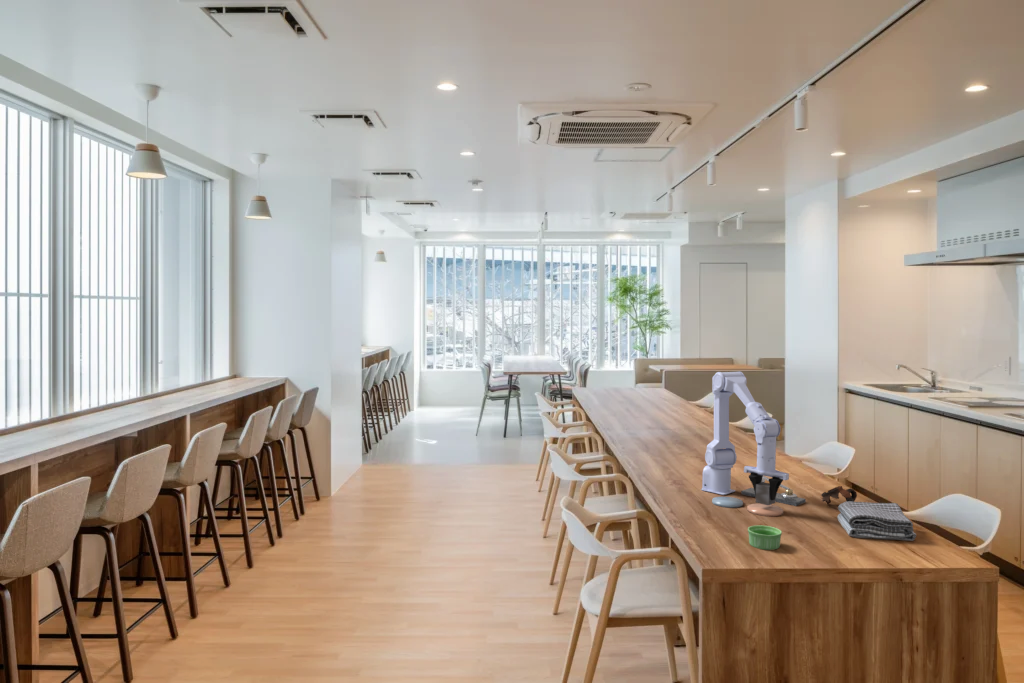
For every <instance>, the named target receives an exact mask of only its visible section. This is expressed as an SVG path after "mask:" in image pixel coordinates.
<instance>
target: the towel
mask: <svg viewBox="0 0 1024 683" xmlns="http://www.w3.org/2000/svg"><path fill="white" fill-rule="evenodd" d="M837 509H838V512H839V514H838V515H837V521H838V522H839V523H840V525H841V527H842V528H843V529H844V531H846V533H847V534H848V536H850V537H853V538H857V539H858V538H859V539H872V538H873V539H875V540H896V541H910V542H912V541H915V539H916V537H917V533H916V532H914V524H913V521H911V520H910V519H909V517H907V516H906V515H905V514H904V512H903V511H902V508H901V507H900V505H899V504H898V503H896V502H891V503H890V502H887V503H886V502H869V501H866V502H864V501H854V502H852V501H851V502H850V501H848V502H846V501H844V502H842V503H840V504H839V505H838V506H837Z"/></svg>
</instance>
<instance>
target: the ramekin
mask: <svg viewBox="0 0 1024 683" xmlns="http://www.w3.org/2000/svg"><path fill="white" fill-rule="evenodd" d="M747 532H748V543H749V545H750V546H751V547H753V548H755V549H759V550H764V551H765V550H766V551H772V550H777V549H779V548H780V547H781V546H780V545H781V539H782V538H781V537H782V534H783V532H782V530H781V529H779V528H777V527H773V526H770V525H761V524H760V525H757V524H756V525H751V526H748V527H747Z"/></svg>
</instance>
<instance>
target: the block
mask: <svg viewBox="0 0 1024 683" xmlns="http://www.w3.org/2000/svg"><path fill="white" fill-rule="evenodd" d="M755 504H765V505H773V504H774V505H775V504H776V502H775V500H770V484H769V482H766V481H765V482H762V483H758V484H756V497H755Z"/></svg>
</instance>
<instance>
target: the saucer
mask: <svg viewBox="0 0 1024 683" xmlns="http://www.w3.org/2000/svg"><path fill="white" fill-rule="evenodd" d="M711 504H713V505H714V506H718V507H721V508H732V509H735V508H736V509H737V508H741V507H744V502H743V499H740V498H736V497H733V496H715V497H713V498H712V500H711Z"/></svg>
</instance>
